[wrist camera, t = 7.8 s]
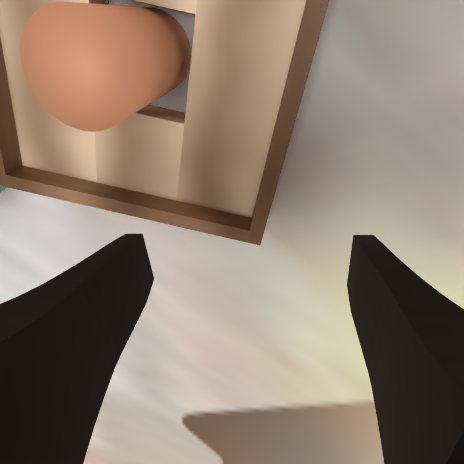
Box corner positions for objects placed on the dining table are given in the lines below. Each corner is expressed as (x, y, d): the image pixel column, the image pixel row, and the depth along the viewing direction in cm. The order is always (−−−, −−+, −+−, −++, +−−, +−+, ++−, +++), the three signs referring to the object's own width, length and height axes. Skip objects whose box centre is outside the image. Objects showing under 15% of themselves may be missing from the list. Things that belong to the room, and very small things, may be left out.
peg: (197, 20, 17) (140, 22, 10) (184, 100, 19) (130, 144, 13) (120, -3, 17) (13, -16, 10) (116, 80, 19) (26, 114, 13)
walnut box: (353, -114, 14) (371, -150, 11) (263, 215, 23) (260, 245, 20) (-23, -194, 14) (-105, -250, 11) (32, 163, 23) (-5, 184, 20)
